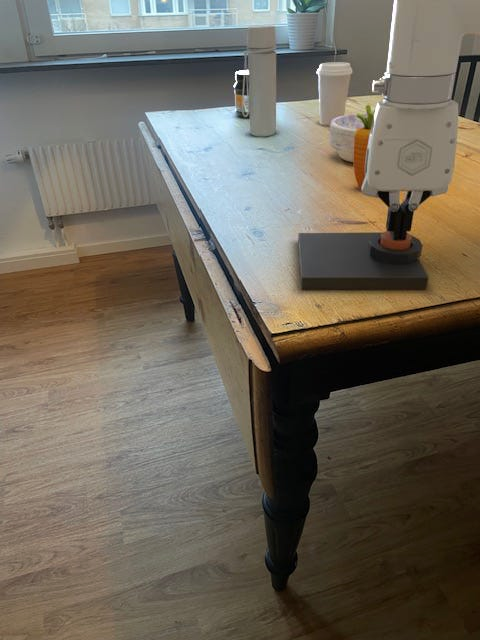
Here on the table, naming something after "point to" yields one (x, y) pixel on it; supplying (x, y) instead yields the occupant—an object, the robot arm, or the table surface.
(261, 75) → the water bottle
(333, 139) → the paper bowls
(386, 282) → the black push button box
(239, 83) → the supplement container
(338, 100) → the coffee cup
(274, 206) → the table surface
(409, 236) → the button
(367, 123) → the carrot
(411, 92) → the robot arm
